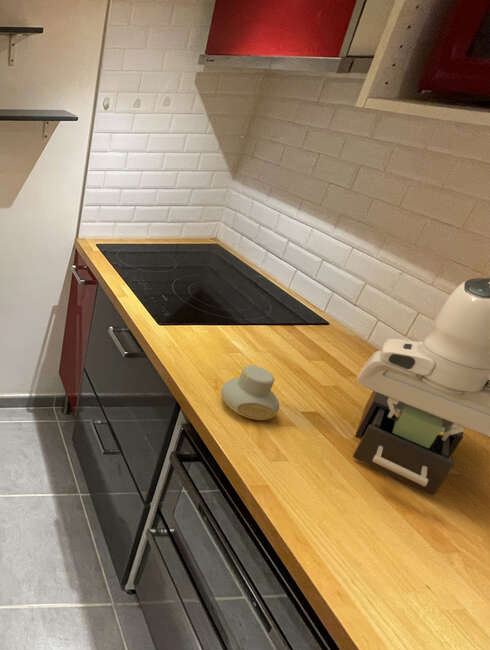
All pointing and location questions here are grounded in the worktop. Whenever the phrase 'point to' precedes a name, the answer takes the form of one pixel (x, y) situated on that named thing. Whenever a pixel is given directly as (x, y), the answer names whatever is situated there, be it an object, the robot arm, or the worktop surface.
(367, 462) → the open nightstand drawer
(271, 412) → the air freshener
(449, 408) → the robot arm
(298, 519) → the worktop surface
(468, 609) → the worktop surface
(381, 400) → the small drawer unit
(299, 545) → the worktop surface
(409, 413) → the block
